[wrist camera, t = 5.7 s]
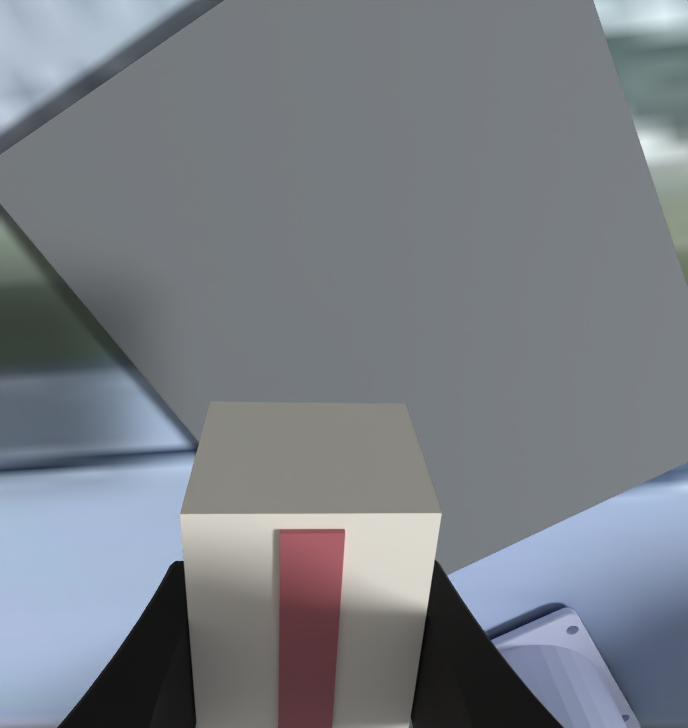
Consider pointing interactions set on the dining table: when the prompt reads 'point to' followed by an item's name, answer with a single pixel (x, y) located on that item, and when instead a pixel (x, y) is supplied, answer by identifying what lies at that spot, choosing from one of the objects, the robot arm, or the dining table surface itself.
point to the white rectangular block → (307, 564)
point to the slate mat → (386, 240)
